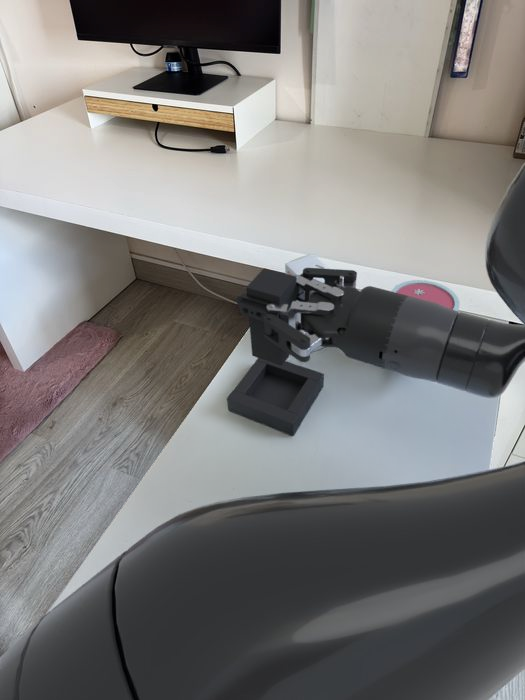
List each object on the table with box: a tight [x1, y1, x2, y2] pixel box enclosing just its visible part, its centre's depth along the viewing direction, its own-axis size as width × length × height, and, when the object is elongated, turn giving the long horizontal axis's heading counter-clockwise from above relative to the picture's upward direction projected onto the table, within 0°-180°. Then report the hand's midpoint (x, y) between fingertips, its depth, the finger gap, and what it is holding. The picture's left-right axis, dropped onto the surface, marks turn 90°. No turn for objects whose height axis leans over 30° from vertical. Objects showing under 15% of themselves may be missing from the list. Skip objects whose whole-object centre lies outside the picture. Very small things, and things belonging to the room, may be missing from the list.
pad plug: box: [245, 267, 296, 366], centre depth 57 cm, size 4×4×10 cm
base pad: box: [226, 358, 325, 437], centre depth 70 cm, size 10×10×3 cm
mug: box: [391, 279, 460, 312], centre depth 71 cm, size 14×9×10 cm
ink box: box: [284, 253, 330, 352], centre depth 76 cm, size 9×5×12 cm, turn 27°
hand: (250, 290), depth 56 cm, fingers closed on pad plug, 4 cm apart
